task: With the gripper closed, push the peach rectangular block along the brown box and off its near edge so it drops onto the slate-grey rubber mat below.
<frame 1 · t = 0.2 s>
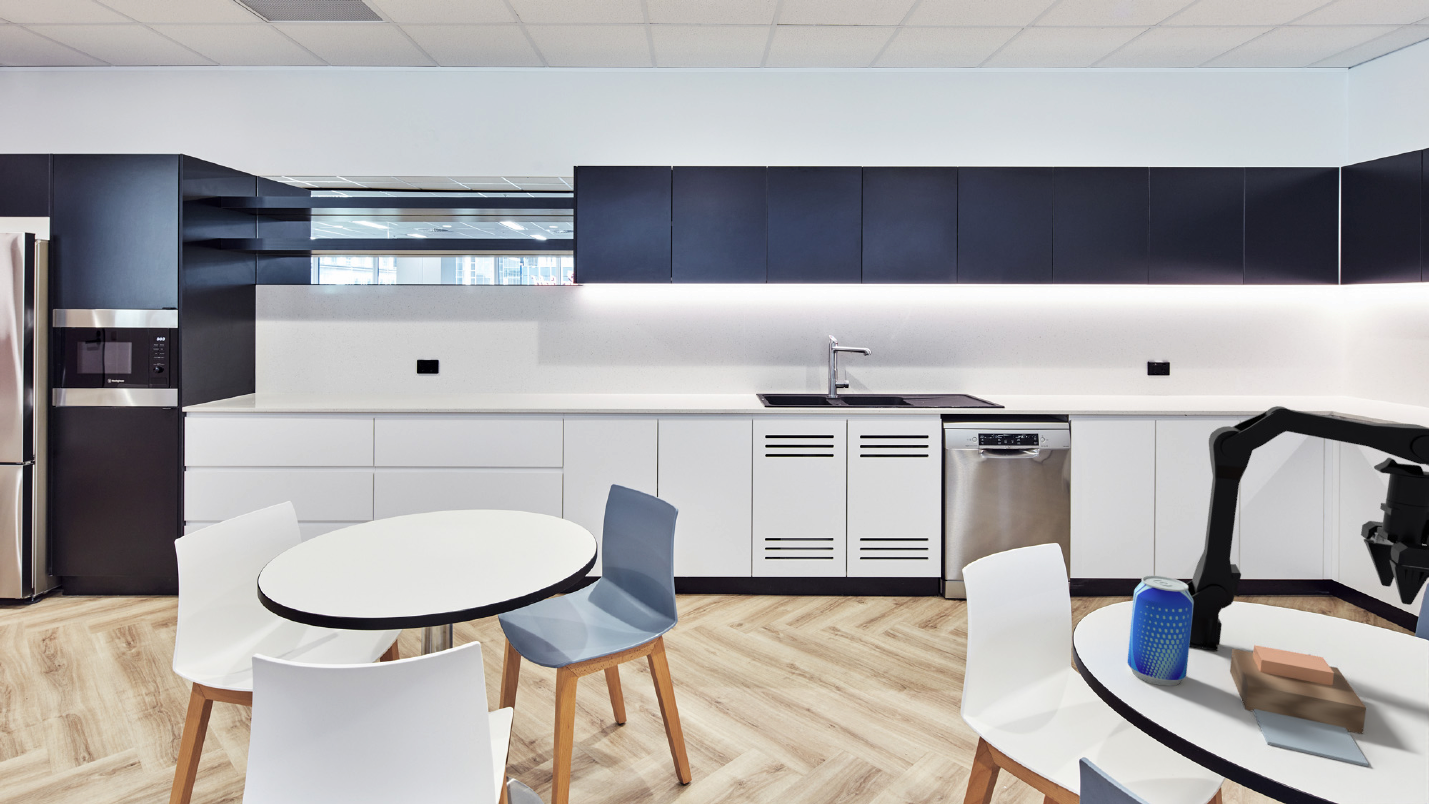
hand: (1395, 594, 125), 14 cm above the table, tool pointing down, fingers open, 9 cm apart
beer can: (1155, 677, 125), on the table
brown box: (1291, 700, 118), on the table
mat: (1307, 737, 107), on the table
peach rectangular block: (1291, 670, 119), point 4 cm above the table, touching brown box
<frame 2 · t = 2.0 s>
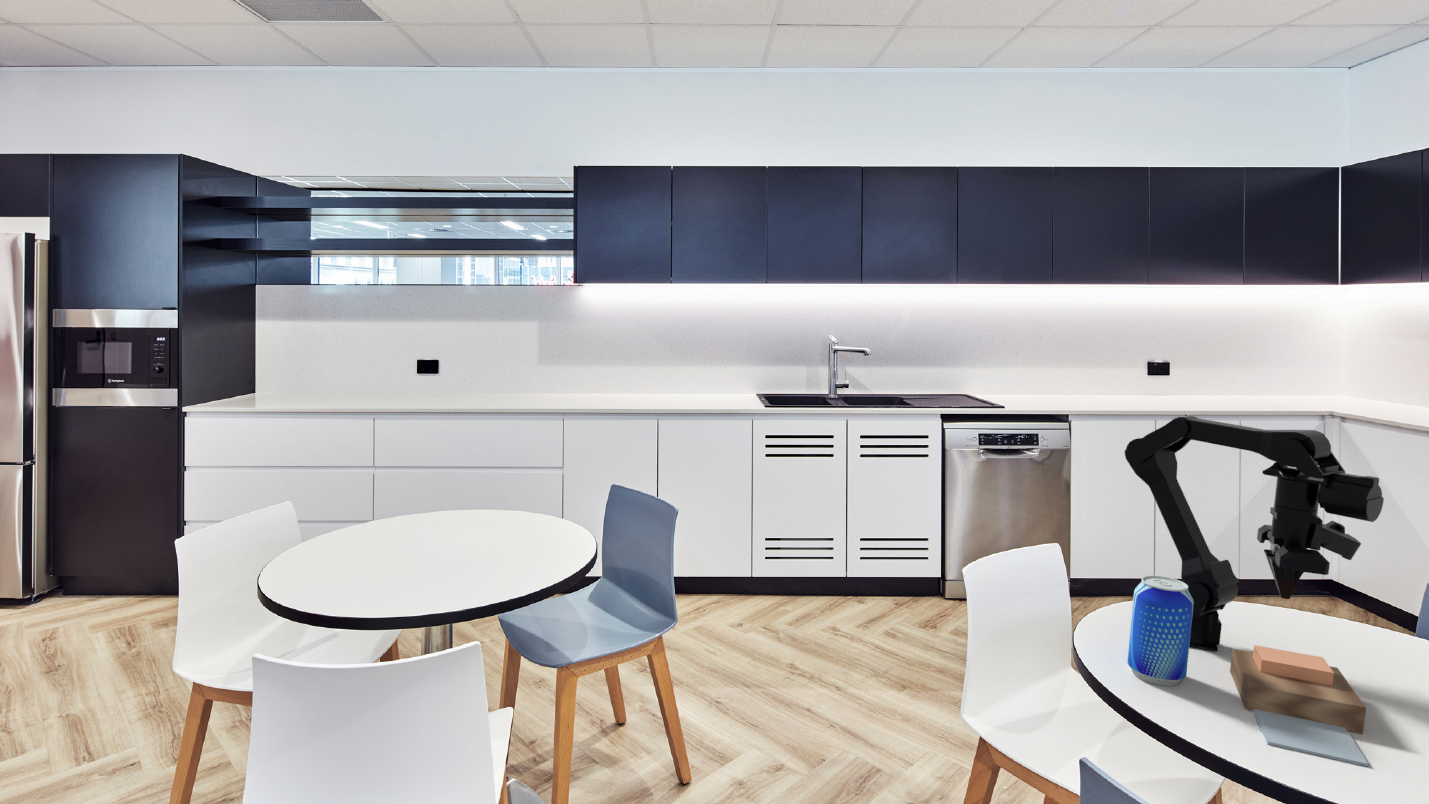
hand: (1284, 598, 126), 13 cm above the table, tool pointing down, fingers closed
nothing on the table moved.
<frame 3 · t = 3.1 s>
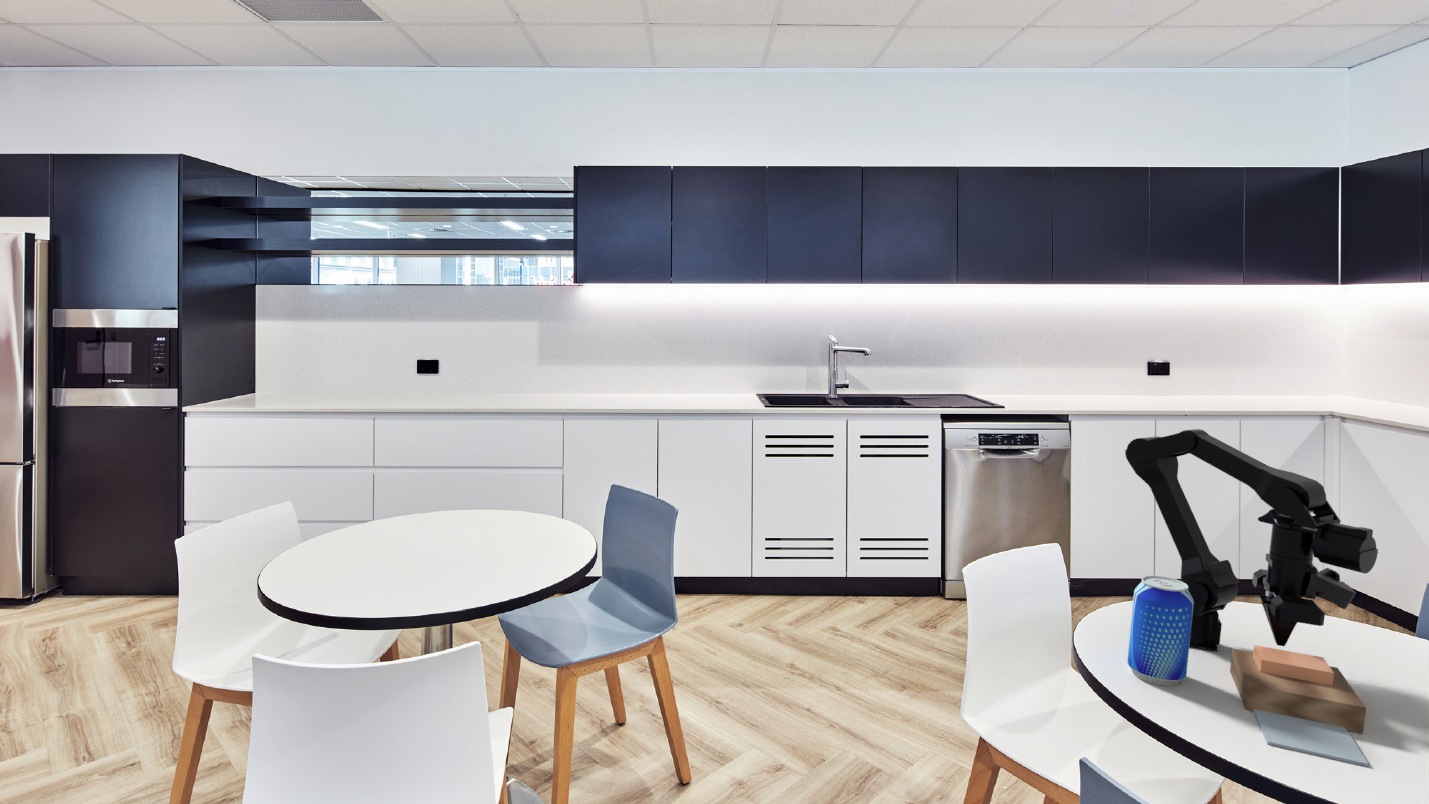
hand: (1280, 645, 126), 5 cm above the table, tool pointing down, fingers closed
nothing on the table moved.
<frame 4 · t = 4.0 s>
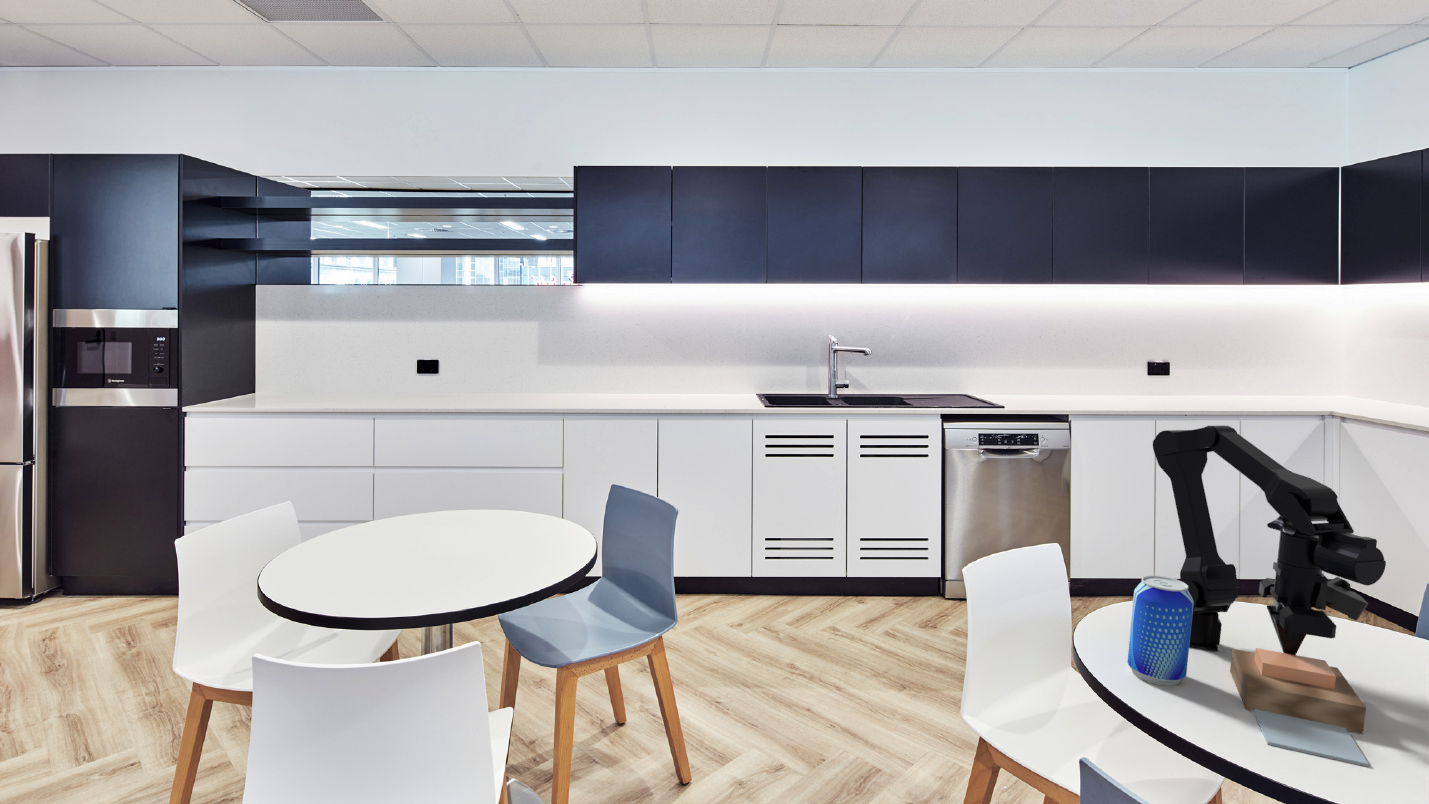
hand: (1289, 657, 121), 5 cm above the table, tool pointing down, fingers closed
peach rectangular block: (1292, 673, 118), point 4 cm above the table, touching brown box, gripper
everything else where it was.
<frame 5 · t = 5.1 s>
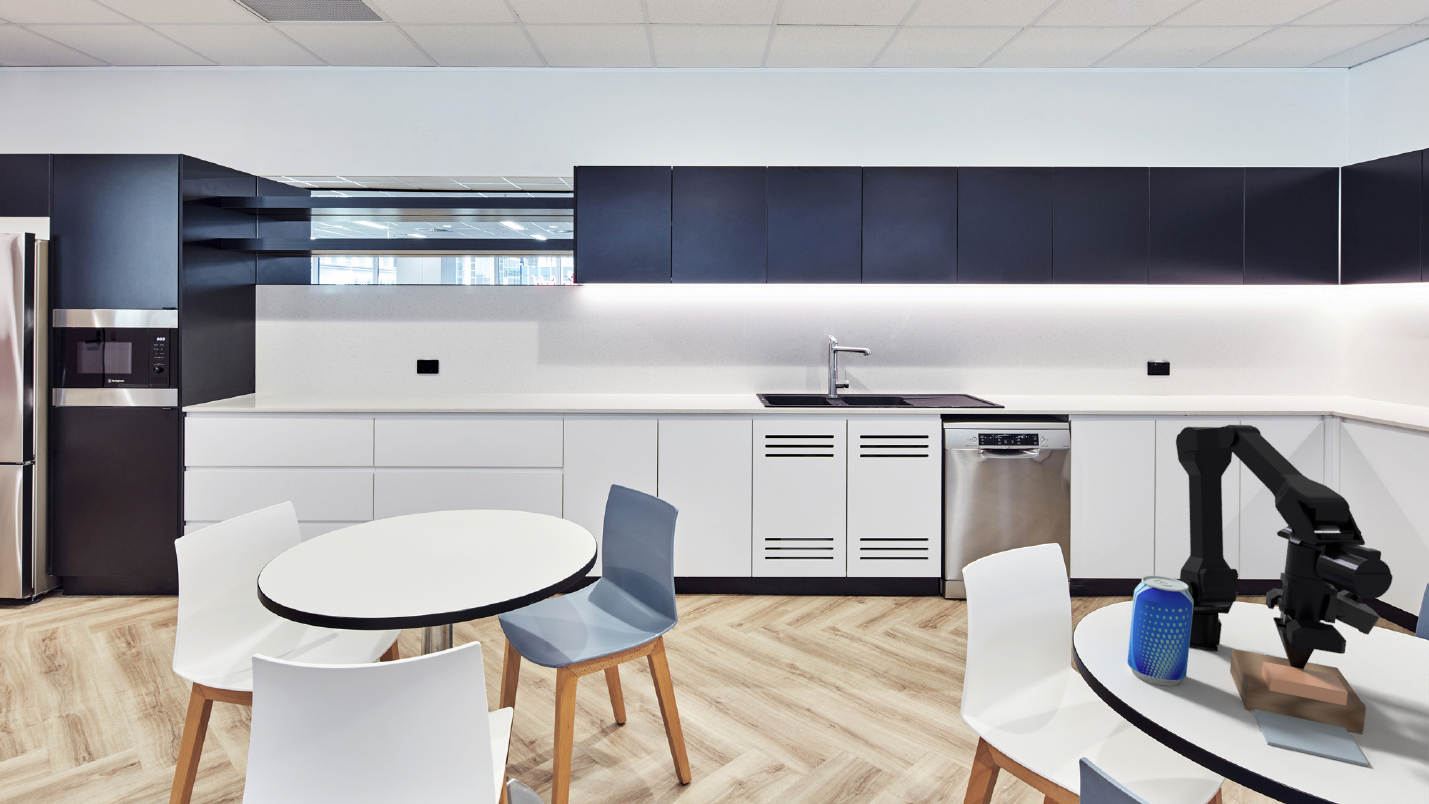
hand: (1296, 671, 116), 5 cm above the table, tool pointing down, fingers closed
peach rectangular block: (1302, 689, 113), point 4 cm above the table, touching brown box, gripper
everything else where it was.
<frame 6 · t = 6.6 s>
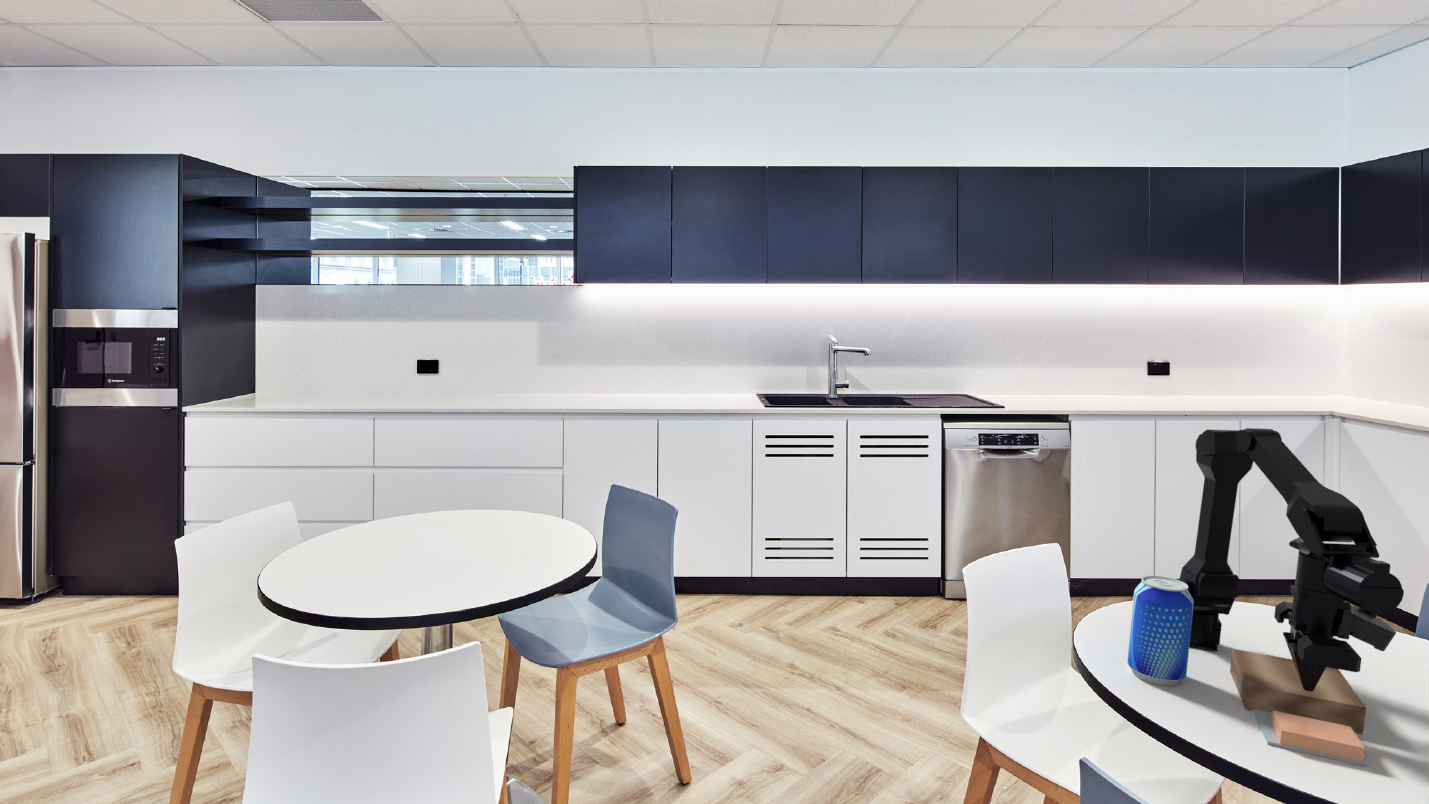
hand: (1307, 690, 111), 5 cm above the table, tool pointing down, fingers closed
peach rectangular block: (1316, 728, 105), point 2 cm above the table, tilted 180°, touching mat
everything else where it was.
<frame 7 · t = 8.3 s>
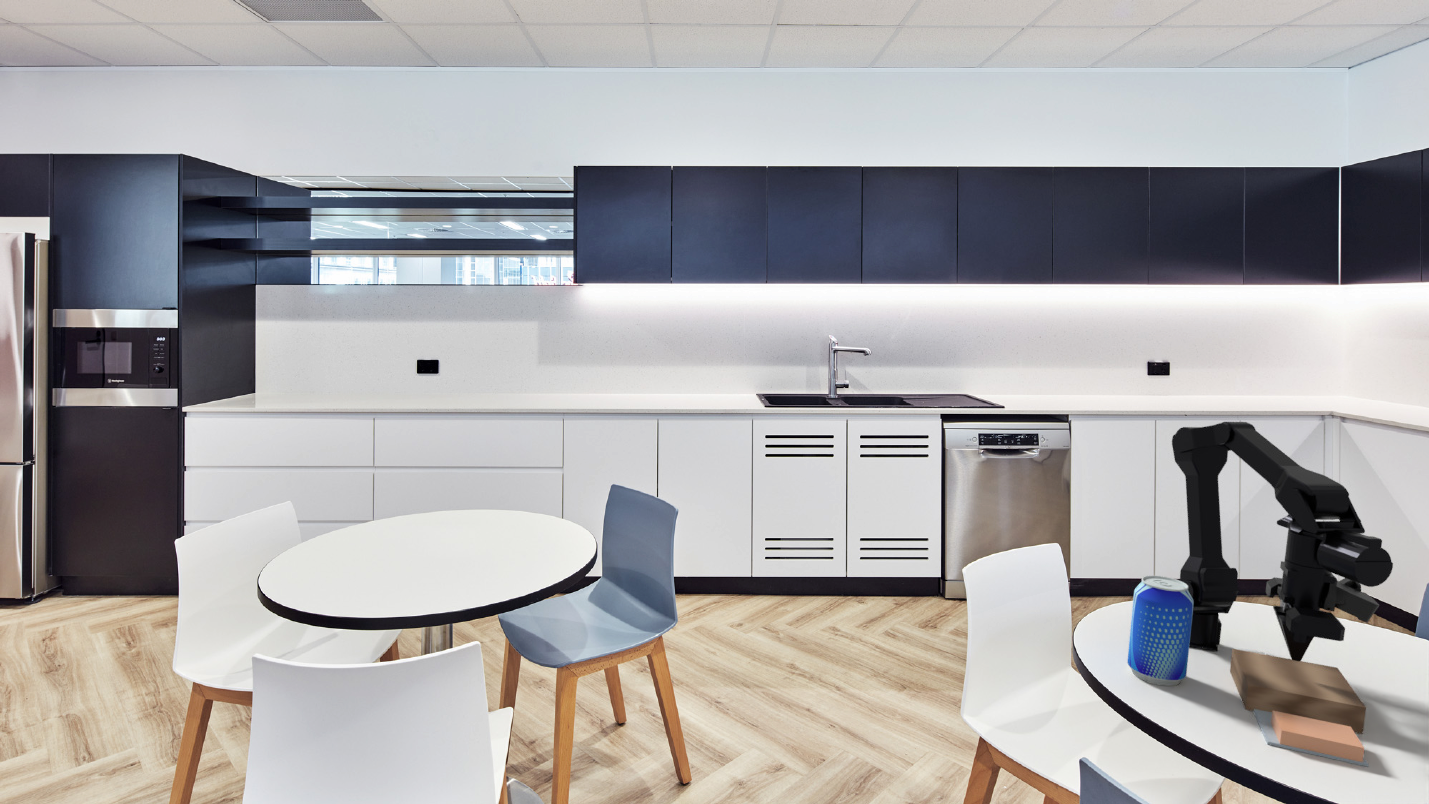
hand: (1295, 659, 117), 7 cm above the table, tool pointing down, fingers closed
nothing on the table moved.
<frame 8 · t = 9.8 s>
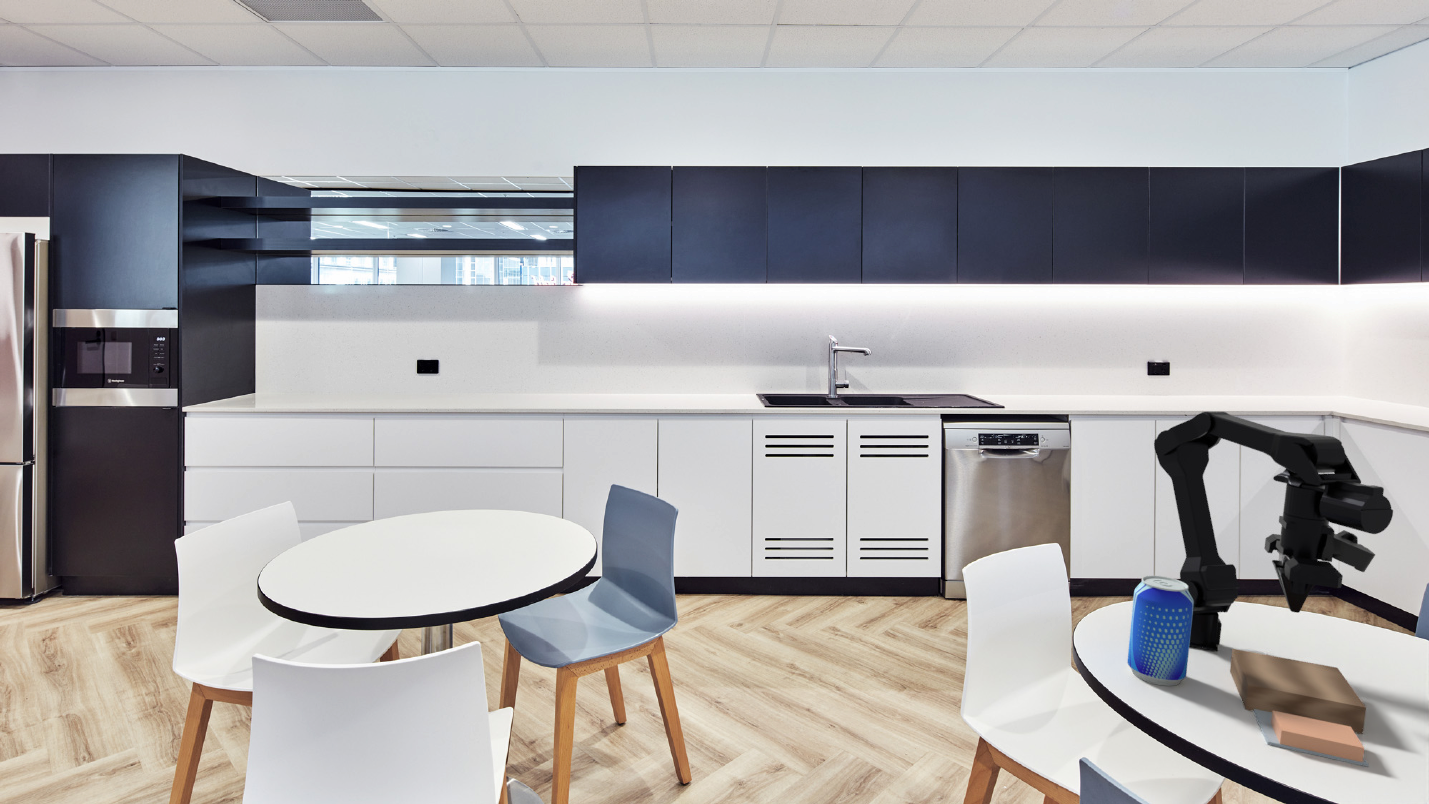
hand: (1294, 611, 120), 13 cm above the table, tool pointing down, fingers closed
nothing on the table moved.
at the end: peach rectangular block point 2.4 cm above the table; peach rectangular block inside the target area on the mat (1.9 cm from its centre), point 2.4 cm above the mat's base; peach rectangular block touching mat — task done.
